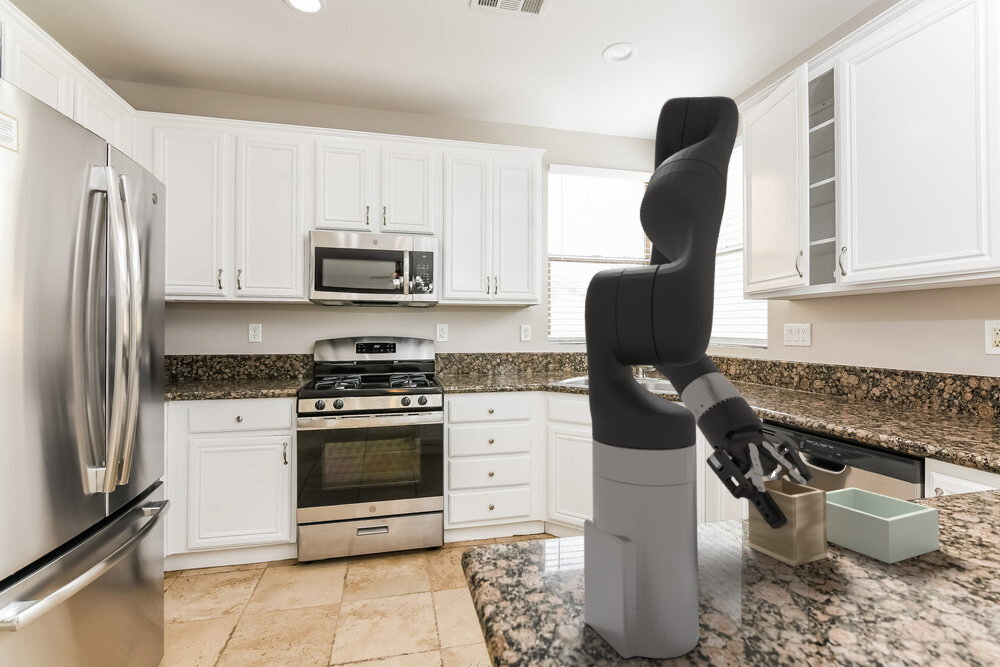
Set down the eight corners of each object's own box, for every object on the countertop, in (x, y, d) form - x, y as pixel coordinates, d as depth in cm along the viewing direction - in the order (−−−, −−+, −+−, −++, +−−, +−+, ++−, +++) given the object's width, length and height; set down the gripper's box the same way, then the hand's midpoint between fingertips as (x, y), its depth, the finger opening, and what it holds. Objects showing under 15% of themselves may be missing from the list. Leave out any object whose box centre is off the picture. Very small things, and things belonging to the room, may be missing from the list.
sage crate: (889, 563, 57) (888, 521, 57) (805, 532, 66) (805, 496, 67) (939, 549, 61) (938, 509, 61) (853, 521, 70) (852, 487, 70)
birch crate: (793, 566, 57) (792, 497, 57) (749, 546, 62) (748, 483, 62) (827, 557, 59) (825, 491, 59) (781, 539, 64) (780, 478, 65)
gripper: (695, 397, 65) (778, 515, 54) (770, 392, 71) (860, 498, 59) (667, 430, 70) (738, 545, 59) (740, 423, 75) (818, 527, 64)
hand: (799, 521), depth 59 cm, fingers closed on birch crate, 6 cm apart
